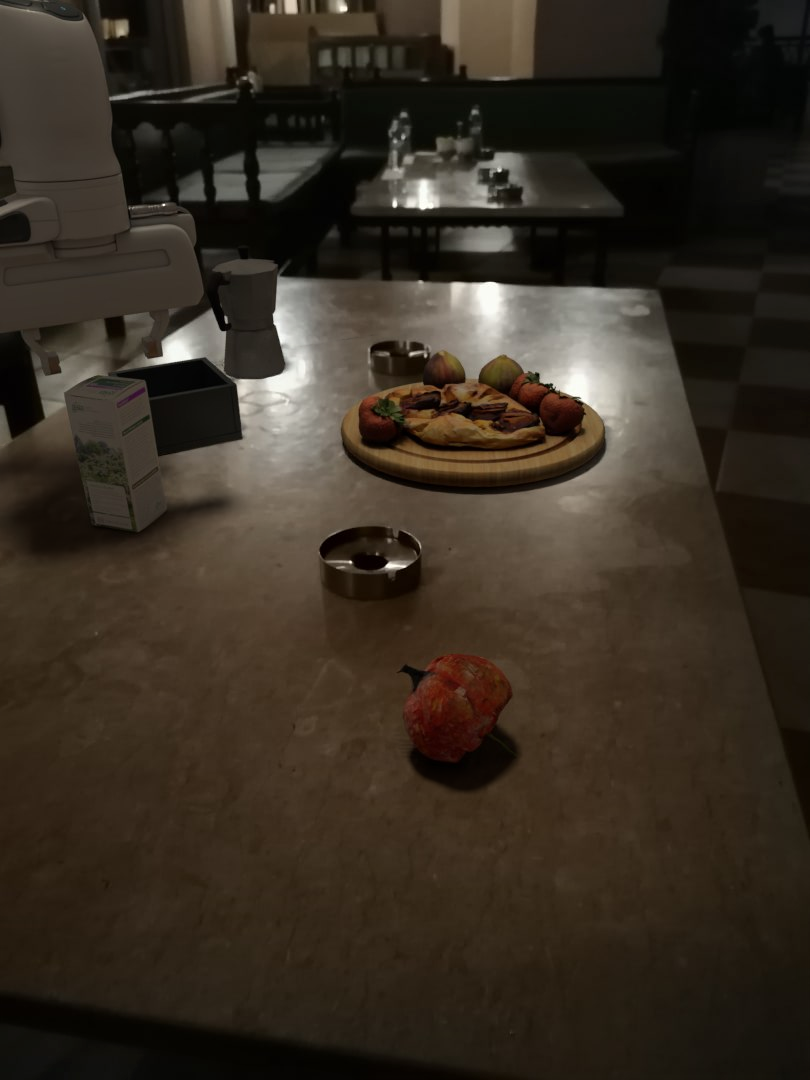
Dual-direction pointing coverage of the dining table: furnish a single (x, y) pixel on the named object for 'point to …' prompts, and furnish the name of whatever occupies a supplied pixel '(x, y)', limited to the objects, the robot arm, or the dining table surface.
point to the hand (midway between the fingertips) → (104, 364)
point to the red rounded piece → (454, 705)
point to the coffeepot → (247, 315)
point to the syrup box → (116, 451)
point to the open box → (189, 404)
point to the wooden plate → (473, 427)
